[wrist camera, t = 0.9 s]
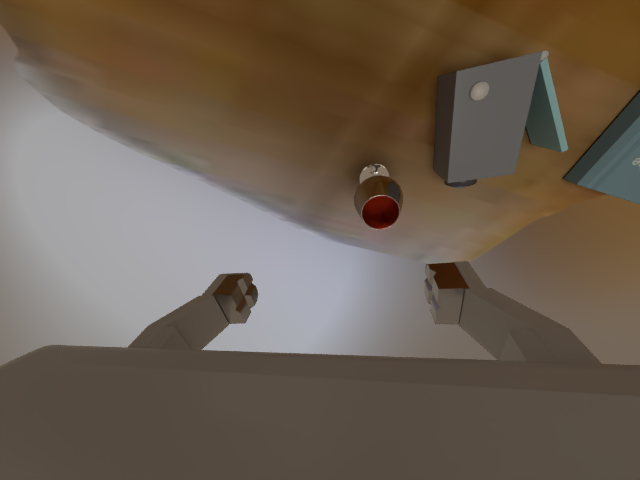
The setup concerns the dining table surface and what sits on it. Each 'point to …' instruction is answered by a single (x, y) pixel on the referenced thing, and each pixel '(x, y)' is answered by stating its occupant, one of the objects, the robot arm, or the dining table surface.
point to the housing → (482, 119)
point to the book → (614, 158)
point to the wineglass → (378, 197)
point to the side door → (545, 112)
